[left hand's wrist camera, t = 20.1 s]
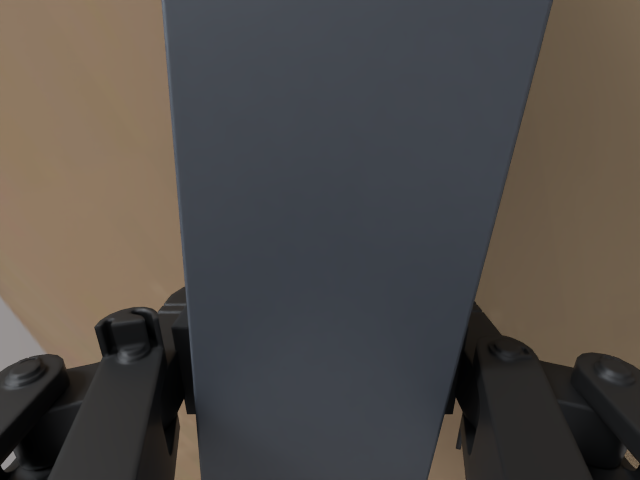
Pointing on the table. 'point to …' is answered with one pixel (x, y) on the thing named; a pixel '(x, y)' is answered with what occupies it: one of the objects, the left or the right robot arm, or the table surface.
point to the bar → (337, 218)
